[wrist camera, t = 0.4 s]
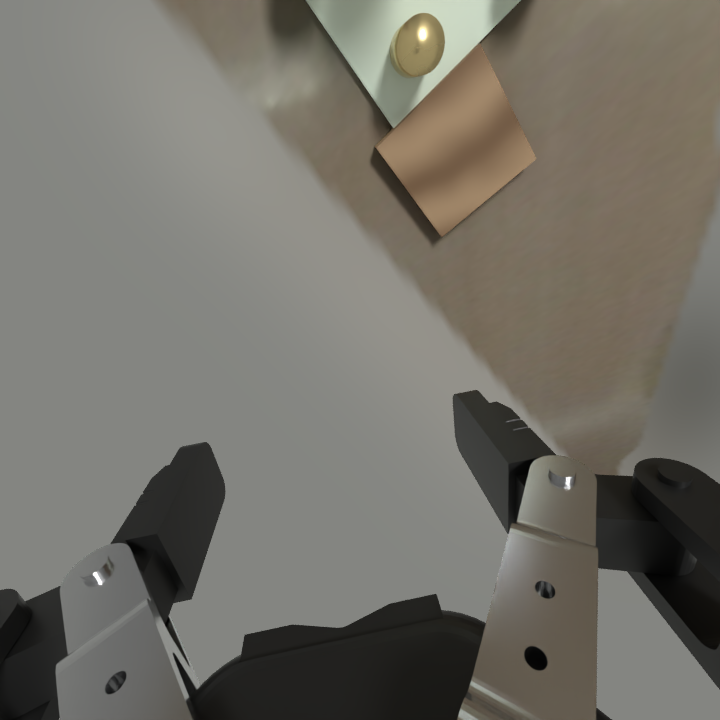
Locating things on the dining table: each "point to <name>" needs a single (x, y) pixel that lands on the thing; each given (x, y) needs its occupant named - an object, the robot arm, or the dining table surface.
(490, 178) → the tray
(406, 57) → the spacers
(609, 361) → the dining table surface
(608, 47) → the dining table surface
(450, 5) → the parts mat
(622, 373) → the dining table surface
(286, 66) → the dining table surface
